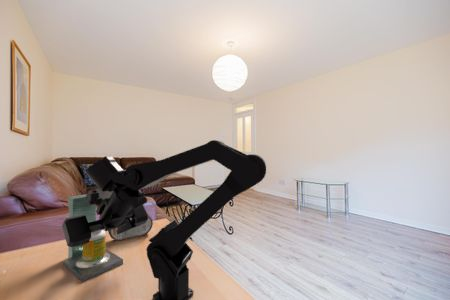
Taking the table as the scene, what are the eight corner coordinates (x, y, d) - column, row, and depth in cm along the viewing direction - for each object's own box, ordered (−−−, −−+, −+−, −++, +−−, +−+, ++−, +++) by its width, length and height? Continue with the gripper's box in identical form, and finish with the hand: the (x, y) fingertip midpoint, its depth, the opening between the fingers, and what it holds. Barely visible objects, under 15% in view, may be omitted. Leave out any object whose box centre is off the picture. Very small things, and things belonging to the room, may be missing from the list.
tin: (151, 231, 79) (151, 210, 79) (153, 234, 77) (153, 212, 77) (107, 240, 71) (108, 217, 71) (108, 244, 68) (108, 219, 68)
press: (123, 263, 57) (123, 200, 57) (82, 282, 48) (83, 208, 49) (88, 241, 70) (88, 190, 70) (51, 252, 62) (52, 195, 62)
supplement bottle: (94, 266, 53) (94, 229, 53) (77, 263, 54) (77, 227, 54) (109, 255, 58) (110, 222, 58) (94, 253, 59) (94, 220, 59)
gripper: (142, 175, 59) (123, 206, 65) (65, 183, 44) (49, 223, 50) (159, 205, 54) (136, 236, 61) (78, 226, 39) (59, 264, 46)
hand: (100, 238), depth 54 cm, fingers open, 9 cm apart
